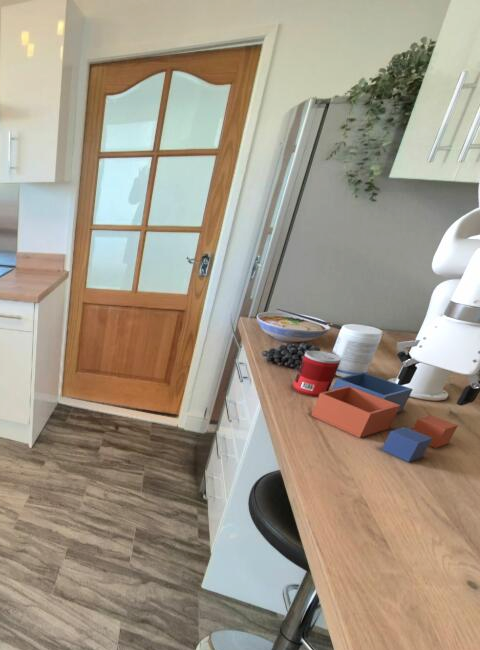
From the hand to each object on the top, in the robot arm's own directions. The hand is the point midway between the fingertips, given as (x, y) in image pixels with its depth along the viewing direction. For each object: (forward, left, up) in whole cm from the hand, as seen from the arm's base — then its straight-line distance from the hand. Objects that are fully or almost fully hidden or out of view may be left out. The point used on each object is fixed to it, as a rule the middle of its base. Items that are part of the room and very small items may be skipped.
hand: (431, 393), depth 89 cm
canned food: (-12, -28, -15) cm, 34 cm away
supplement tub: (-34, -32, -15) cm, 49 cm away
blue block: (0, 0, -15) cm, 15 cm away
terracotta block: (-12, -1, -15) cm, 20 cm away
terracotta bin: (-4, -13, -15) cm, 20 cm away
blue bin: (-17, -17, -15) cm, 29 cm away
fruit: (-24, -43, -15) cm, 51 cm away
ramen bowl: (-48, -60, -15) cm, 78 cm away
